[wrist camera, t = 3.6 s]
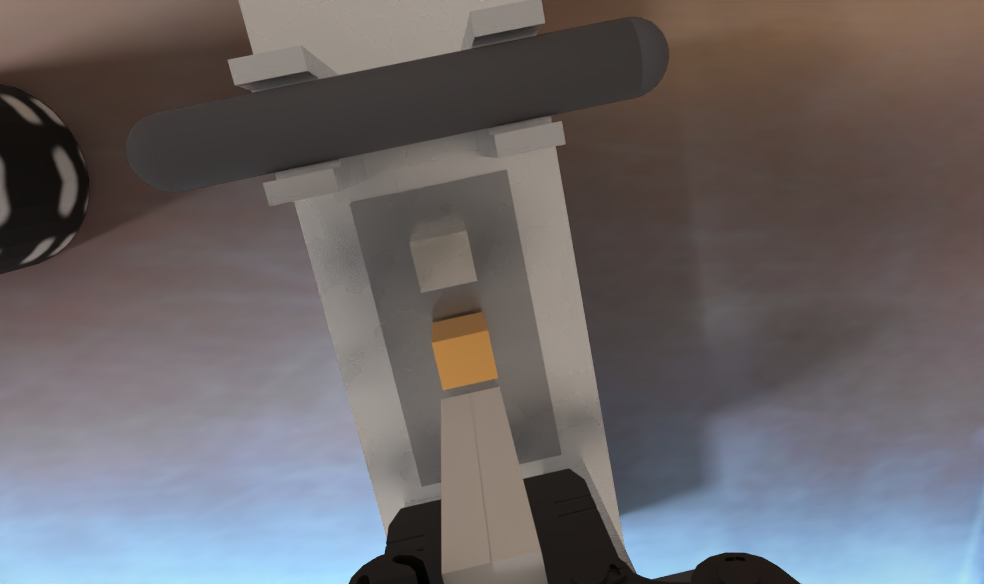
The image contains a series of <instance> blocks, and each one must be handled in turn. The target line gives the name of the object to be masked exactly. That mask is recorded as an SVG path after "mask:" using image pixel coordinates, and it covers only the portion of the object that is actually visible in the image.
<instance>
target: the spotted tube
mask: <svg viewBox="0 0 984 584" xmlns="http://www.w3.org/2000/svg"><path fill="white" fill-rule="evenodd" d="M88 200H89V179H88V174H87V169H86V164H85V161H84V158H83V156H82V153H81V151H80V148H79V146H78V144H77V142H76V140H75V139H74V137H73V136H72V134H71V133H70V131H69V130H68V128H67V126H66V125H65V124H64V123H63V122H62V121H61V120H60V119H59V118H58V117H57V116H56V114H55V113H54V112H53V111H52V110H50V109H49V108H48V107H46V106H45V105H44V104H43V103H41V102H40V101H39V100H37V99H36V98H34V97H33V96H31V95H29V94H27V93H25V92H23V91H21V90H20V89H18V88H15V87H12V86H9V85H6V84H3V83H0V274H3V273H6V272H10V271H13V270H17V269H20V268H24V267H27V266H31V265H35V264H38V263H40V262H42V261H44V260H46V259H48V258H50V257H52V256H54V255H55V254H57V253H58V252H59V251H60V250H61V249H63V248H64V247H65V246H66V245H68V243H69V242H70V241H71V239H72V238H73V237H74V236H75V234H76V233H77V232H78V230H79V228H80V226H81V223H82V221H83V219H84V217H85V214H86V209H87V205H88Z"/></svg>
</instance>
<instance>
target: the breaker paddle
mask: <svg viewBox="0 0 984 584" xmlns="http://www.w3.org/2000/svg"><path fill="white" fill-rule="evenodd" d="M432 346H433V350H434V355H435V359H436V363H437V367H438V372H439V376H440V380H441V384H442V388H443V390H447V389H452V388H456V387H460V386H465V385H469V384H474V383H478V382H483V381H487V380H492V379H496V378H498V375H497V370H496V365H495V361H494V356H493V351H492V346H491V342H490V337H489V332H488V328H487V325H486V321H485V318H484V314H483V312H479V313H474V314H470V315H465V316H461V317H456V318H451V319H447V320H442V321H438V322H433V323H432Z"/></svg>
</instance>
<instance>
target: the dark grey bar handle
mask: <svg viewBox="0 0 984 584" xmlns="http://www.w3.org/2000/svg"><path fill="white" fill-rule="evenodd" d="M694 570H695V569H694ZM694 570H690V571H685V572H681V573H677V574H673V575H669V576H664V577H660V578H656V579H652V580H655V581H665V582H691V575H692V574H693V572H694Z"/></svg>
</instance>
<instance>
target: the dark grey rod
mask: <svg viewBox="0 0 984 584" xmlns="http://www.w3.org/2000/svg"><path fill="white" fill-rule="evenodd" d="M668 60H669V49H668V44H667V41H666V39H665V37H664V35H663V33H662V32H661V30H660V29H659V28H658V27H657V26H656V25H655V24H653V23H652V22H650V21H648V20H645V19H643V18H638V17H626V18H621V19H616V20H611V21H606V22H601V23H596V24H591V25H586V26H581V27H576V28H571V29H566V30H561V31H556V32H551V33H546V34H541V35H536V36H531V37H526V38H521V39H517V40H512V41H507V42H502V43H497V44H492V45H487V46H482V47H477V48H472V49H467V50H462V51H457V52H452V53H447V54H442V55H437V56H432V57H427V58H422V59H417V60H412V61H407V62H402V63H397V64H392V65H387V66H382V67H377V68H373V69H368V70H363V71H358V72H353V73H348V74H343V75H338V76H333V77H328V78H323V79H318V80H313V81H308V82H303V83H298V84H293V85H288V86H283V87H278V88H273V89H268V90H263V91H258V92H253V93H248V94H243V95H238V96H234V97H229V98H224V99H219V100H214V101H209V102H204V103H199V104H194V105H189V106H184V107H179V108H174V109H169V110H164V111H159V112H155V113H152V114H149V115H147V116H145V117H143V118H141V119H140V120H139V121H138V122H137V123H136V124H135V125H134V126H133V127H132V129H131V131H130V132H129V134H128V138H127V141H126V154H127V159H128V161H129V164H130V166H131V168H132V169H133V171H134V172H135V173H136V175H137V176H138V177H139V178H140V179H142V180H143V181H144V182H145V183H147V184H148V185H150V186H152V187H154V188H157V189H160V190H163V191H170V192H180V191H187V190H192V189H197V188H201V187H206V186H211V185H216V184H221V183H226V182H230V181H235V180H240V179H245V178H250V177H255V176H259V175H264V174H269V173H274V172H279V171H284V170H289V169H293V168H298V167H303V166H308V165H313V164H318V163H322V162H327V161H332V160H337V159H342V158H347V157H351V156H356V155H361V154H366V153H371V152H376V151H380V150H385V149H390V148H395V147H400V146H405V145H409V144H414V143H419V142H424V141H429V140H434V139H439V138H443V137H448V136H453V135H458V134H463V133H468V132H472V131H477V130H482V129H487V128H492V127H497V126H501V125H506V124H511V123H516V122H521V121H526V120H530V119H535V118H540V117H545V116H550V115H555V114H559V113H564V112H569V111H574V110H579V109H584V108H588V107H593V106H598V105H603V104H608V103H613V102H618V101H622V100H627V99H632V98H636V97H639V96H642V95H644V94H646V93H648V92H649V91H651V90H652V89H653V88H654V87H655V86H656V85H657V84H658V83H659V82H660V80H661V79H662V78H663V76H664V74H665V71H666V69H667V65H668Z"/></svg>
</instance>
